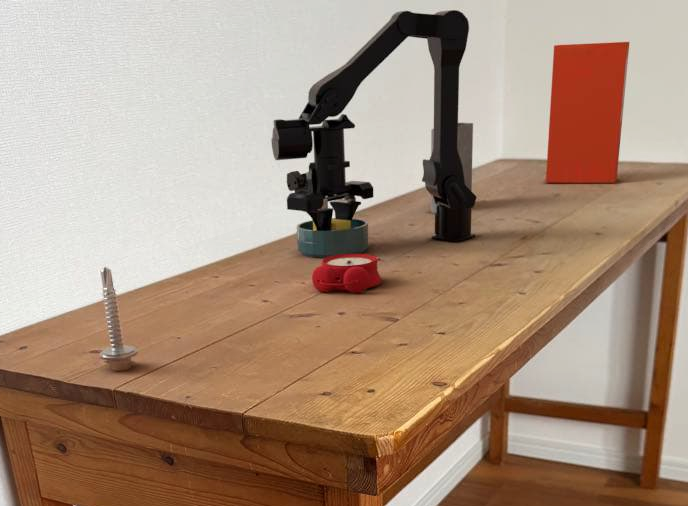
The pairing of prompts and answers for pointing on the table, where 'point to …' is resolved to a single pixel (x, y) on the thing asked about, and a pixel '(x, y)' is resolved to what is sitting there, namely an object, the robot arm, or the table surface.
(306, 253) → the bowl
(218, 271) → the table surface
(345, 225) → the sponge
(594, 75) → the file binder
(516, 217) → the table surface
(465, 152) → the hip flask
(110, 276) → the screw
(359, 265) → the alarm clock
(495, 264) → the table surface
